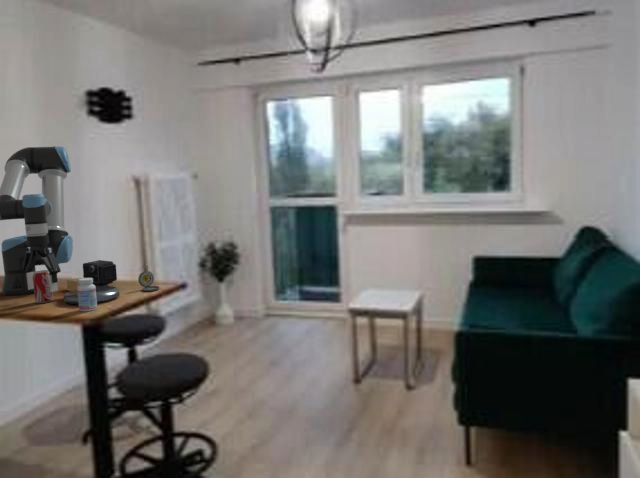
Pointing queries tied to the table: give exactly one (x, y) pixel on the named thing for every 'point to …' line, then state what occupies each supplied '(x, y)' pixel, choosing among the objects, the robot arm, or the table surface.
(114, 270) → the camera
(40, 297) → the beverage can
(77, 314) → the table surface
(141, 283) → the pocket watch
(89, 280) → the pill bottle
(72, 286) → the turntable
